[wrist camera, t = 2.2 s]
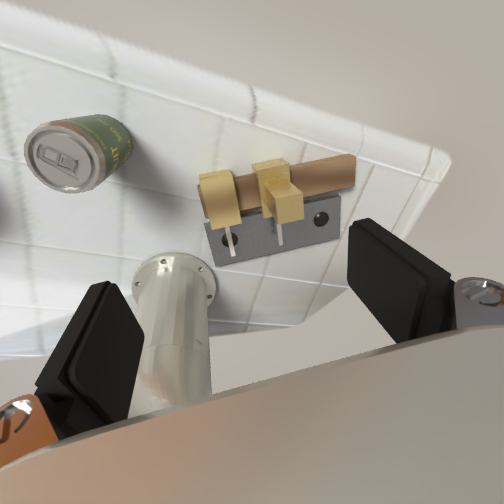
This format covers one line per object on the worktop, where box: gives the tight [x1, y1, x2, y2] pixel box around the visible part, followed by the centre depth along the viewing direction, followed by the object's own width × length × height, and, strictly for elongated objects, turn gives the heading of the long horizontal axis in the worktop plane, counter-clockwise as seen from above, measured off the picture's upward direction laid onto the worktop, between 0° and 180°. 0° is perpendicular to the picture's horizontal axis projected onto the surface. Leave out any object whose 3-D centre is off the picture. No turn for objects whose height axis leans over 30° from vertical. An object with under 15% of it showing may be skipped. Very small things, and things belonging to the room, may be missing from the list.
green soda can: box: [24, 114, 132, 193], centre depth 25 cm, size 5×5×12 cm
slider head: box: [252, 159, 304, 246], centre depth 33 cm, size 11×4×9 cm, turn 9°
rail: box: [198, 154, 356, 257], centre depth 36 cm, size 11×21×3 cm, turn 99°
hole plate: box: [204, 194, 341, 267], centre depth 39 cm, size 7×20×1 cm, turn 99°
